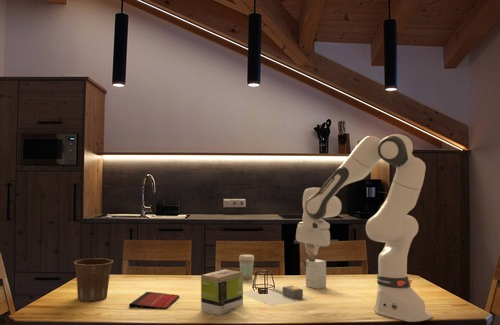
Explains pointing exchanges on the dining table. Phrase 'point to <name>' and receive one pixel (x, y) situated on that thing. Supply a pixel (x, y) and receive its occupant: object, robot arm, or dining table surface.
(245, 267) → the coffee cup
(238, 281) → the tea box
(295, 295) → the grey rectangular block
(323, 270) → the small box
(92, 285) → the plant pot
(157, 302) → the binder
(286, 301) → the floor panel
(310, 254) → the peg
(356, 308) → the dining table surface
